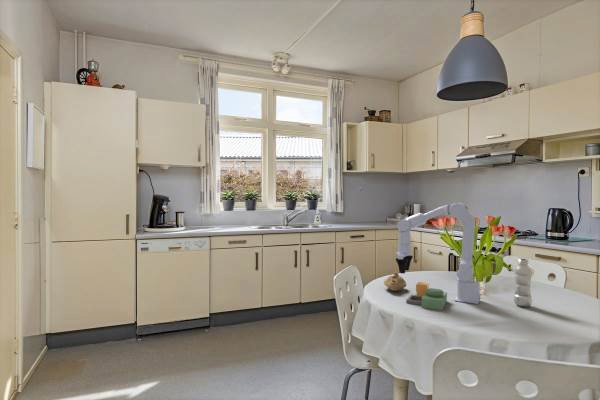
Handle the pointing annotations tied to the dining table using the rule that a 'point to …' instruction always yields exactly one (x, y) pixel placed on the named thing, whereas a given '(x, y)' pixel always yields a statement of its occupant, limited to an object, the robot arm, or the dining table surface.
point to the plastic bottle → (522, 284)
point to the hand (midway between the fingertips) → (404, 271)
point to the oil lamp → (395, 282)
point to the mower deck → (430, 299)
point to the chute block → (421, 288)
